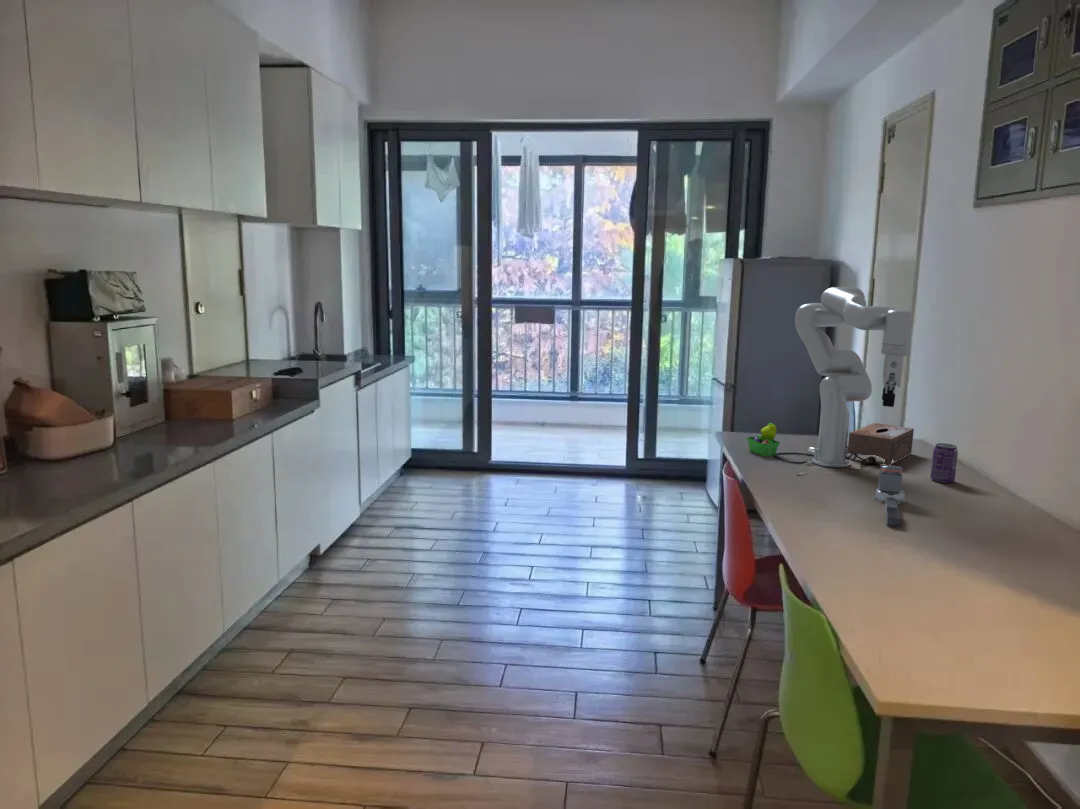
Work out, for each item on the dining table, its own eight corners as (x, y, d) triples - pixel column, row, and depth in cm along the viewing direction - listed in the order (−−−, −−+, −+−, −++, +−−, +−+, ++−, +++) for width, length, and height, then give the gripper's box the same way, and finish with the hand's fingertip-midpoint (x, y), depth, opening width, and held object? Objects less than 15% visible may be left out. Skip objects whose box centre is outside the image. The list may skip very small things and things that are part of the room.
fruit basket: (744, 450, 290) (746, 420, 288) (765, 448, 293) (767, 419, 290) (761, 457, 279) (764, 427, 277) (782, 456, 282) (785, 426, 280)
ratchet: (909, 529, 205) (912, 506, 204) (877, 525, 208) (879, 501, 207) (903, 498, 233) (905, 477, 232) (874, 495, 236) (876, 474, 234)
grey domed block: (900, 492, 226) (903, 469, 226) (879, 490, 228) (881, 466, 228) (899, 489, 232) (901, 466, 231) (877, 486, 234) (880, 464, 233)
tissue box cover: (888, 467, 270) (891, 439, 269) (846, 459, 280) (849, 432, 278) (911, 454, 289) (913, 428, 288) (871, 447, 299) (874, 422, 297)
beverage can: (948, 478, 256) (953, 443, 254) (958, 484, 249) (962, 448, 247) (926, 477, 257) (930, 442, 255) (935, 483, 250) (939, 447, 248)
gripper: (909, 354, 230) (901, 410, 234) (906, 347, 246) (899, 399, 250) (882, 352, 233) (875, 407, 237) (881, 345, 249) (874, 396, 253)
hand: (887, 403), depth 243 cm, fingers open, 9 cm apart
